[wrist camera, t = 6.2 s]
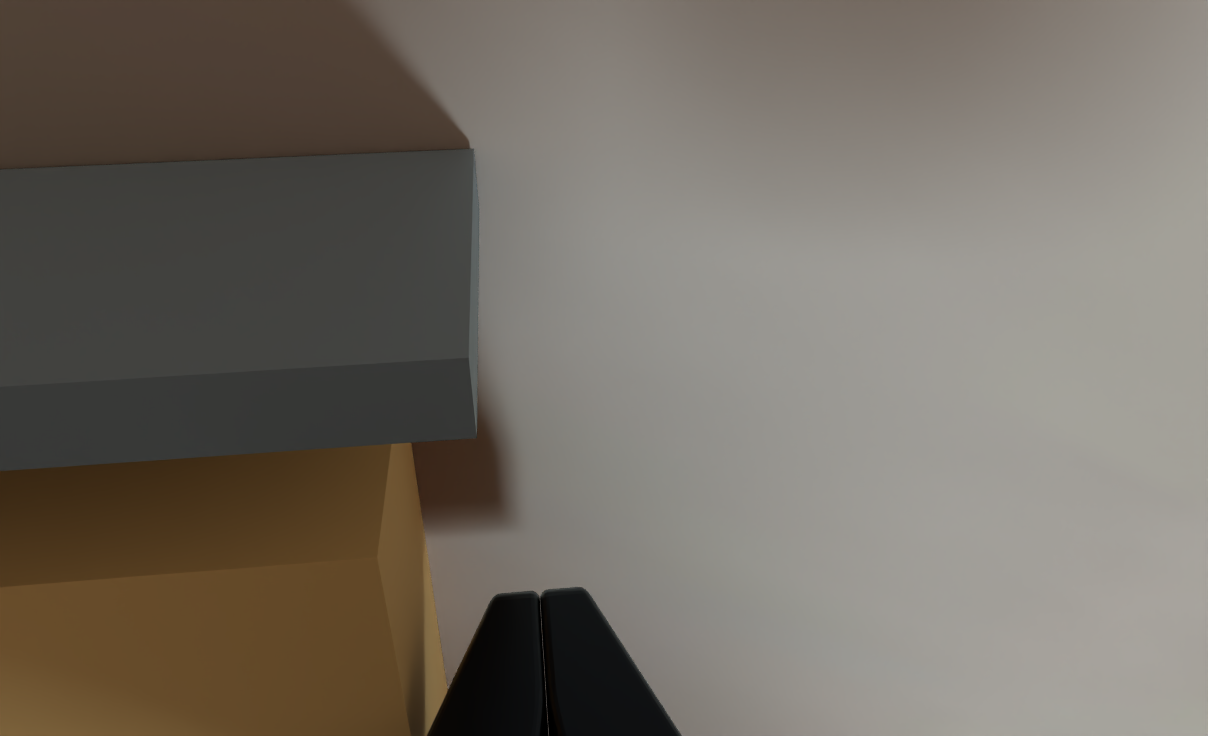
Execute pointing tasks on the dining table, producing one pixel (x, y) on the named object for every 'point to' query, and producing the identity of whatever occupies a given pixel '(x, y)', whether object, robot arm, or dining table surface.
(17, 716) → the tan cardboard box
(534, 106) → the dining table surface
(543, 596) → the robot arm
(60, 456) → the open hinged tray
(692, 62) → the dining table surface
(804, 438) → the dining table surface
